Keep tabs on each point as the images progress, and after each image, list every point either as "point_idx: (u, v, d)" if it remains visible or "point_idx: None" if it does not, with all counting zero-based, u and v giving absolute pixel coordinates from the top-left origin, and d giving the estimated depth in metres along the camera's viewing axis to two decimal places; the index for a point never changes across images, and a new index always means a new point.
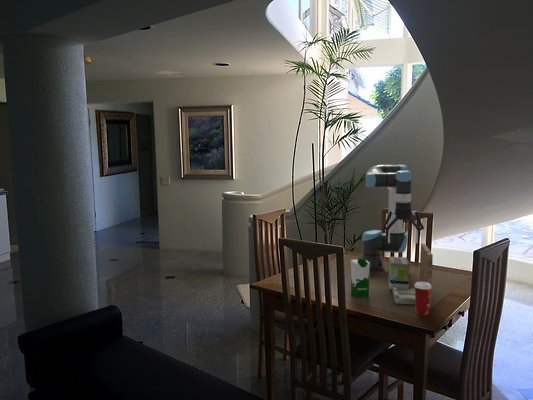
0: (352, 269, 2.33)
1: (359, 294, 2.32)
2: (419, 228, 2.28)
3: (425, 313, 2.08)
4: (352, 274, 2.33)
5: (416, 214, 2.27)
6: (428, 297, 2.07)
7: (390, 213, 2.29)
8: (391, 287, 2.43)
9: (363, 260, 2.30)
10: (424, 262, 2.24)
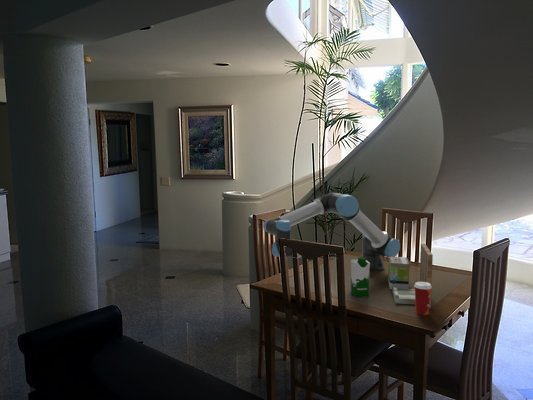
0: (352, 269, 2.33)
1: (359, 294, 2.32)
2: None
3: (425, 313, 2.08)
4: (352, 274, 2.33)
5: None
6: (428, 297, 2.07)
7: None
8: (391, 287, 2.43)
9: (363, 260, 2.30)
10: (424, 262, 2.24)
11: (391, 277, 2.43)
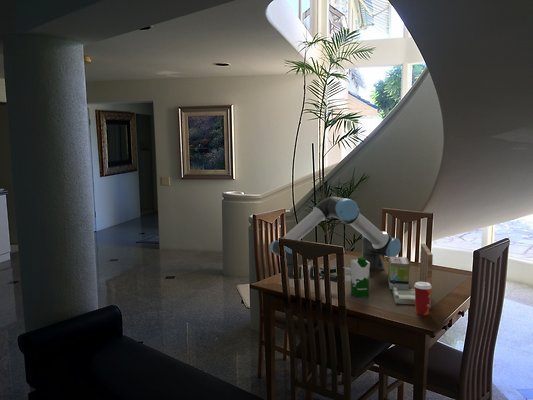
0: (352, 269, 2.33)
1: (359, 294, 2.32)
2: None
3: (425, 313, 2.08)
4: (352, 274, 2.33)
5: None
6: (428, 297, 2.07)
7: None
8: (391, 287, 2.43)
9: (363, 260, 2.30)
10: (424, 262, 2.24)
11: (391, 277, 2.43)
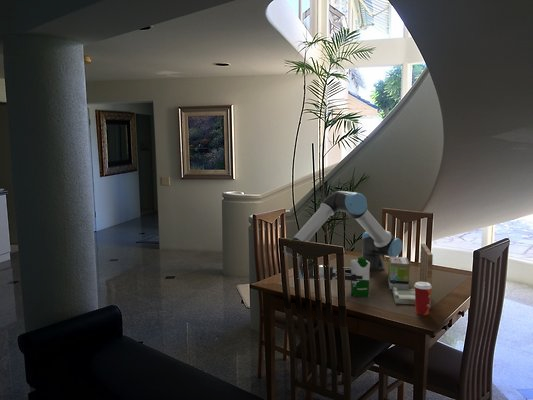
0: (352, 269, 2.33)
1: (359, 294, 2.32)
2: None
3: (425, 313, 2.08)
4: None
5: None
6: (428, 297, 2.07)
7: None
8: (391, 287, 2.43)
9: (363, 260, 2.30)
10: (424, 262, 2.24)
11: (391, 277, 2.43)
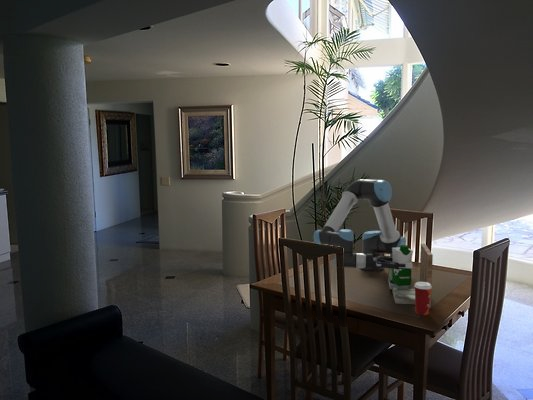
0: (394, 257, 2.26)
1: (402, 283, 2.25)
2: None
3: (425, 313, 2.08)
4: None
5: None
6: (428, 297, 2.07)
7: None
8: (391, 287, 2.43)
9: (406, 247, 2.22)
10: (424, 262, 2.24)
11: (391, 277, 2.43)
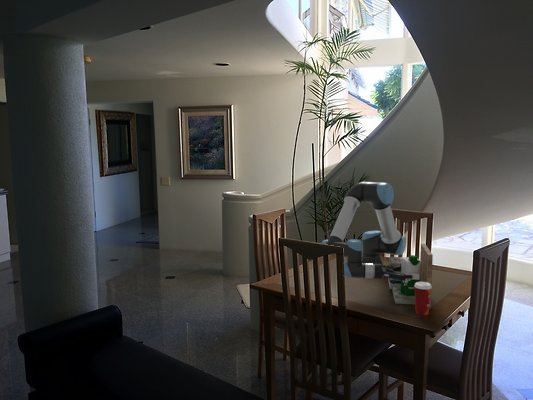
0: (403, 267, 2.27)
1: (411, 293, 2.25)
2: None
3: (425, 313, 2.08)
4: (403, 272, 2.27)
5: None
6: (428, 297, 2.07)
7: None
8: (391, 287, 2.43)
9: (415, 258, 2.23)
10: (424, 262, 2.24)
11: None
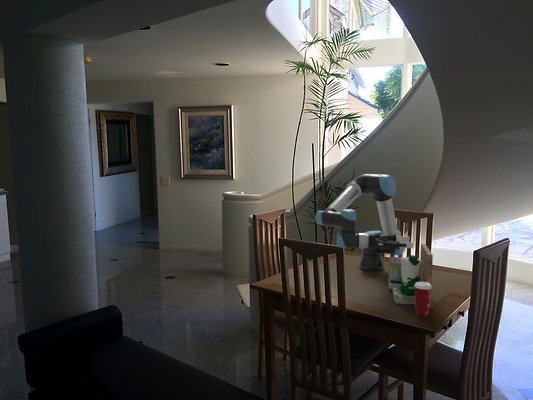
0: (403, 267, 2.27)
1: (411, 293, 2.25)
2: None
3: (425, 313, 2.08)
4: (403, 272, 2.27)
5: None
6: (428, 297, 2.07)
7: None
8: (391, 287, 2.43)
9: (415, 258, 2.23)
10: (424, 262, 2.24)
11: (391, 277, 2.43)
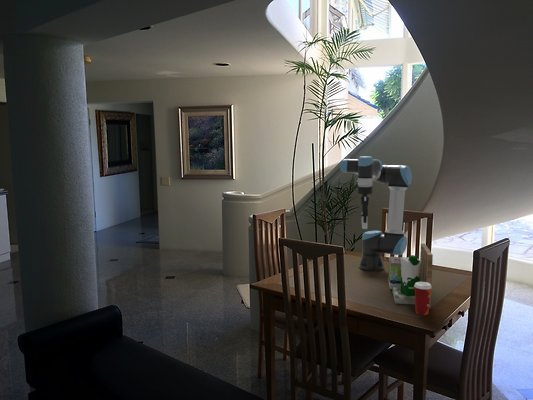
0: (403, 267, 2.27)
1: (411, 293, 2.25)
2: (362, 214, 2.31)
3: (425, 313, 2.08)
4: (403, 272, 2.27)
5: (362, 199, 2.31)
6: (428, 297, 2.07)
7: (362, 195, 2.43)
8: (391, 287, 2.43)
9: (415, 258, 2.23)
10: (424, 262, 2.24)
11: (391, 277, 2.43)
